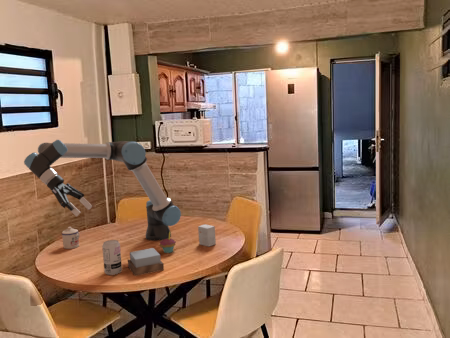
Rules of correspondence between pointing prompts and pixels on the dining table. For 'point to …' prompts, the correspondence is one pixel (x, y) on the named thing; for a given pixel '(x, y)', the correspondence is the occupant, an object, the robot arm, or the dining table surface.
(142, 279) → the dining table surface
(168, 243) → the cupcake
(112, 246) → the supplement can
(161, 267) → the tower base slab
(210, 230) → the small box
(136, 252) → the tower top slab
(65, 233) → the teacup with lid
